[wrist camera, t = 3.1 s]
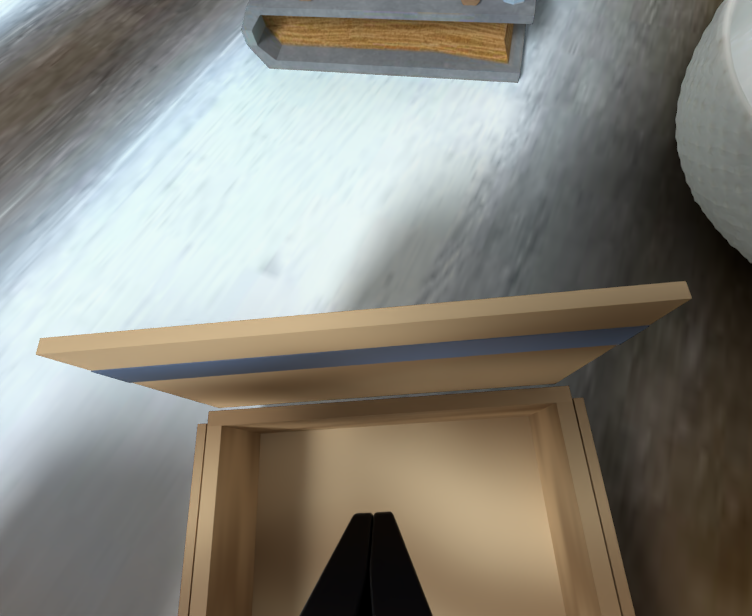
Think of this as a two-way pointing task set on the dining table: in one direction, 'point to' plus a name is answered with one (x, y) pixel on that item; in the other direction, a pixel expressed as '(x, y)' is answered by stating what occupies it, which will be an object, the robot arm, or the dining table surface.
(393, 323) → the flap
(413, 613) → the robot arm
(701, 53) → the cereal bowl
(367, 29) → the book
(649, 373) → the dining table surface
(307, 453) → the open wooden box
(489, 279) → the dining table surface
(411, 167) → the dining table surface
